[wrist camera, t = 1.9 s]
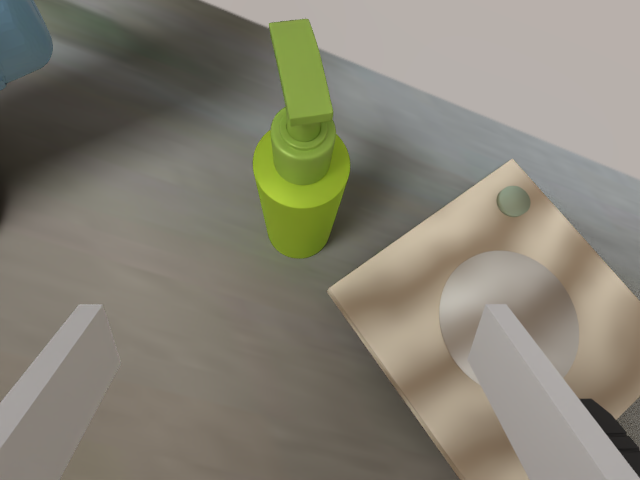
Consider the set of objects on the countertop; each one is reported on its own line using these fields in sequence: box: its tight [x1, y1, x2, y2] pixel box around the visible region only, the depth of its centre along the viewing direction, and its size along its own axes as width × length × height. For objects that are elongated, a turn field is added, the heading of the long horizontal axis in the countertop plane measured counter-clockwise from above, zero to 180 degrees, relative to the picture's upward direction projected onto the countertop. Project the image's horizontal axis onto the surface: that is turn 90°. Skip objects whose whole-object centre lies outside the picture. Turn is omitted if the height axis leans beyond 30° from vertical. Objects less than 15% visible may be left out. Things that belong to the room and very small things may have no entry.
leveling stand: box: [327, 159, 640, 480], centre depth 31 cm, size 20×20×6 cm
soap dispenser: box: [253, 19, 350, 258], centre depth 25 cm, size 6×7×20 cm
